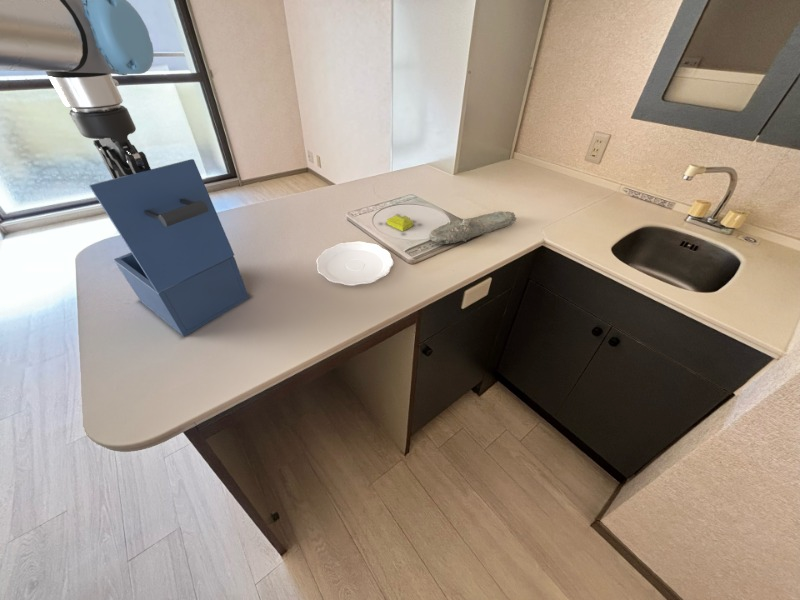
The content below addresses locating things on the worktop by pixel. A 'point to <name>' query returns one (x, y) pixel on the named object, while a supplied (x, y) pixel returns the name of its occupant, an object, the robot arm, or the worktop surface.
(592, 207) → the worktop surface
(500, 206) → the worktop surface
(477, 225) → the elongated rock
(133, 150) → the robot arm
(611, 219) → the worktop surface
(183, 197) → the cool box lid
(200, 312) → the cool box
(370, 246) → the plate
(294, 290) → the worktop surface
